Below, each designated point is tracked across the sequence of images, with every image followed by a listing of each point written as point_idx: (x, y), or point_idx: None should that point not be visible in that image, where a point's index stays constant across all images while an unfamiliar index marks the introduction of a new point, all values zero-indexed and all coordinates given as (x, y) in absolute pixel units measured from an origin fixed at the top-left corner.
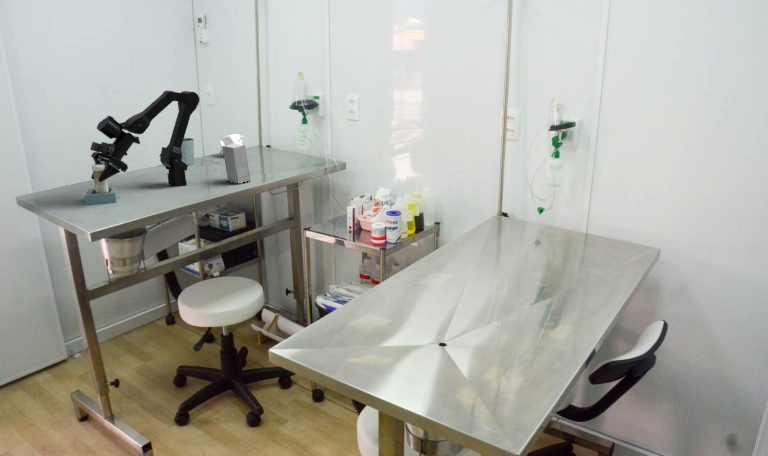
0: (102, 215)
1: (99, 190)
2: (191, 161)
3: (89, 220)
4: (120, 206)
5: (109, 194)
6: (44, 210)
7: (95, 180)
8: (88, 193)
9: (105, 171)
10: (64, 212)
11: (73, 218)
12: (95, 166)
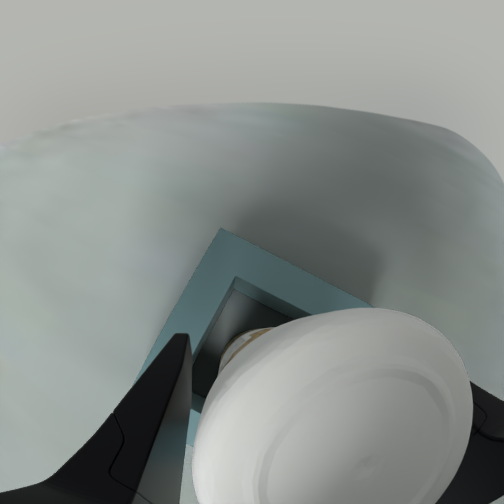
0: (9, 232)
1: (232, 344)
2: None
3: (8, 177)
4: (54, 361)
5: (140, 375)
6: (278, 103)
7: (267, 331)
8: (268, 270)
9: (93, 446)
10: (176, 135)
11: (69, 141)
12: (257, 366)
